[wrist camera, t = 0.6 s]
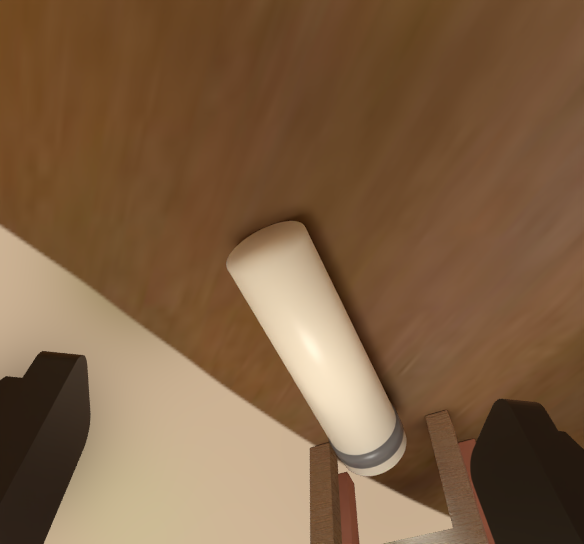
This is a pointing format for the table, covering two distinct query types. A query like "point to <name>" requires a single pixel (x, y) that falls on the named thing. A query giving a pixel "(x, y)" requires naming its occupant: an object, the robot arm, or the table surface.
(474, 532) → the grey u-shaped panel
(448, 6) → the table surface
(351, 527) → the wall
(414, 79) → the table surface
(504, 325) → the table surface
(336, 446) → the white long cylinder
